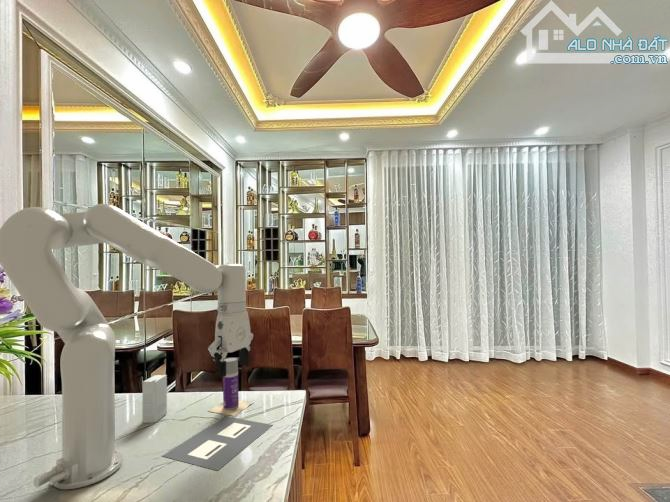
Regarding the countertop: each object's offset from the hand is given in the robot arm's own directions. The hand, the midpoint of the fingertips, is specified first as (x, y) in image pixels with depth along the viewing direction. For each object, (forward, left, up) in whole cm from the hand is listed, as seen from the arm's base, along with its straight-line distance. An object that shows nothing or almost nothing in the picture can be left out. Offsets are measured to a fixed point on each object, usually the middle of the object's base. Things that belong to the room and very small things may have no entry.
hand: (233, 370), depth 92 cm
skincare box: (-2, +28, -17) cm, 33 cm away
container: (+12, +11, -16) cm, 23 cm away
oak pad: (+12, +11, -16) cm, 23 cm away
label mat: (-5, 0, -16) cm, 17 cm away
